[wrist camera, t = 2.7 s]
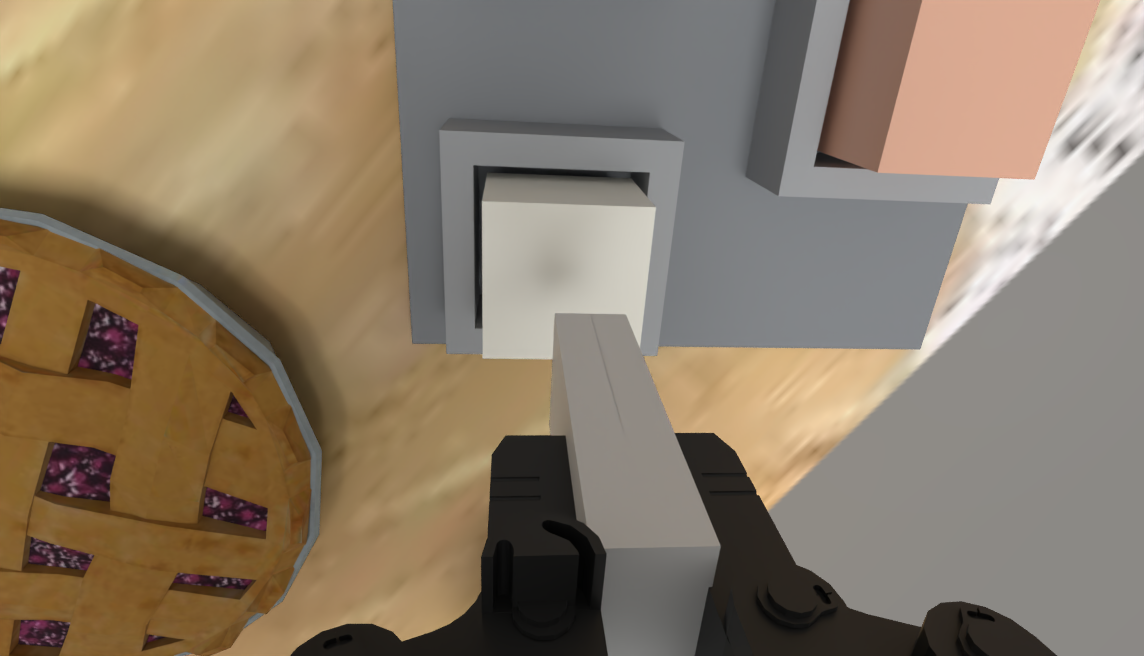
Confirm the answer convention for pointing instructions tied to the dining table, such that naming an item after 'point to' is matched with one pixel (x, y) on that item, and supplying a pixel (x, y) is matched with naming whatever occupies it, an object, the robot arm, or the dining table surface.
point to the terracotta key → (952, 84)
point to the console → (669, 166)
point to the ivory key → (560, 256)
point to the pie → (139, 455)
